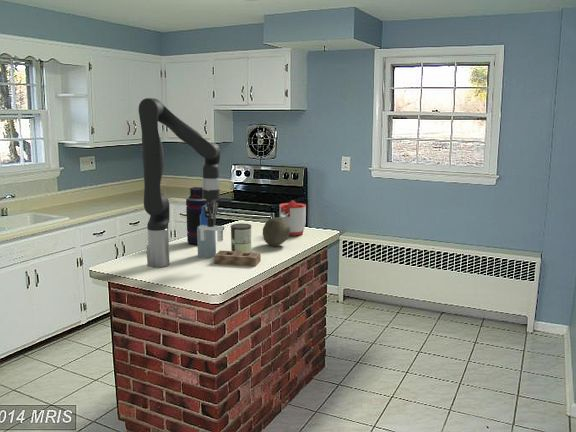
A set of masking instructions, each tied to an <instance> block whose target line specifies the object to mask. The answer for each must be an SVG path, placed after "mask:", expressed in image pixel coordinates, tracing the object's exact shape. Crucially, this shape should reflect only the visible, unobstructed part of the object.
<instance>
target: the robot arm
mask: <svg viewBox="0 0 576 432" xmlns="http://www.w3.org/2000/svg"><path fill="white" fill-rule="evenodd" d="M138 117H139V123H140V127H141V128H140V129H141V146H142V147H141V148H142V151H141V152H142V166H143V182H144V185H143V186H144V187H143V188H144V189H143V190H144V191H143V207H144V211H145V212H146V213H147V214H148V215H149V216H150V217H149V220H148V222H147V224H146V225H147V229H146V230H147V243H148V245H146V260H147V261H146V262H147V263H146V265H147V267H151V268H165V267H166V268H167V267H168V266H170V264H171V262H170V243H169V242H170V239H169V238H170V237H169V223H170V201H169V198H168V197H167V195H165V194H164V193H162V191H161V184H162V183H161V182H162V177H163V172H164V169H165V152H164V151H165V150H164V147H163V143H162V139H161V137H160V134H159V133H160V132H159V123H161V124H163V125H164V126H166V127H167V128H168V129H170V131H171V132H172V133H173V134H174V135H175V136H176V137H177V138H179V140H181V141H182V142H184V144H186V145H188V146H189V147H191V148H192V149H193V150H194V151H195V152H196V153H197V154H198V155H200V156H201V157H202V158H204V164H203V167H202V184H201V185H202V186H201V187H203V199H206V200H207V201H206V206H204V212H205V218H207V219H208V227H213V215H216V216H217V215H218V211H219V210H218V209H219V201H217V200H219V199H220V198H221V196H220V194H221V192H220V191H221V190H220V185H221V184H220V172H219V171H220V168H219V167H220V161H221V149H220V146H219V145H218V144H217V143H215V142H212V141H211V142H209V141H208V140H206V138H204V137H203V135H202V134H201V133H200V132H198V130H195V129H194V128H193V127H191V126H190V125H189V124H187V123H186V122H185V121H183V120H182V119H180V117H177V115H175V114H174V113H173V112H172V111H171V110H169V108H168V107H166V106H165V104H164V103H162V102H161V100H159V99H158V98H152V97H150V98H149V97H147V98H144V99H142V100H141V101H140V102H139V104H138ZM158 122H159V123H158Z"/></svg>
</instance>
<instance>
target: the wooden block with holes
mask: <svg viewBox="0 0 576 432" xmlns="http://www.w3.org/2000/svg"><path fill="white" fill-rule="evenodd" d="M261 254H262V253H261V252H252V251H251V252H237V251H231V250H219V251H218V252H216V254H215V255H214V257H213V260H214V262H213V264H214V265H227V266H229V265H231V266H245V265H247V266H249V267H257V265H259V263H260V262H261V259H262V257H261ZM247 266H246V267H247Z"/></svg>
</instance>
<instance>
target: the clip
mask: <svg viewBox="0 0 576 432" xmlns="http://www.w3.org/2000/svg"><path fill="white" fill-rule="evenodd" d="M216 221H217V215H213V227H208V219H207V225H200V226H199V230H200V240H201V241H204V240H206V230H214V231H216V232H217V233H216V237H217V239H216V241H217V242H218V243H221V242H223V241H224V230H225V226H224V225H217V224H216V223H217V222H216ZM217 242H216V243H217Z"/></svg>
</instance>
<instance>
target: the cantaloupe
mask: <svg viewBox="0 0 576 432" xmlns="http://www.w3.org/2000/svg"><path fill="white" fill-rule="evenodd" d="M289 234H290V227H289V224H288V223H287V222H286V221H285V220H284V219H282V218H280V217H278V216H276V217H271V218H269V219H267V221H266V222H265V223H264V226H263V228H262V236H263V240H264V242H265V243H266V244H268V245H269V246H271V247H278V246H281V245H282V244H284V243H285V242H286V240H288V238H289V236H290V235H289Z"/></svg>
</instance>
